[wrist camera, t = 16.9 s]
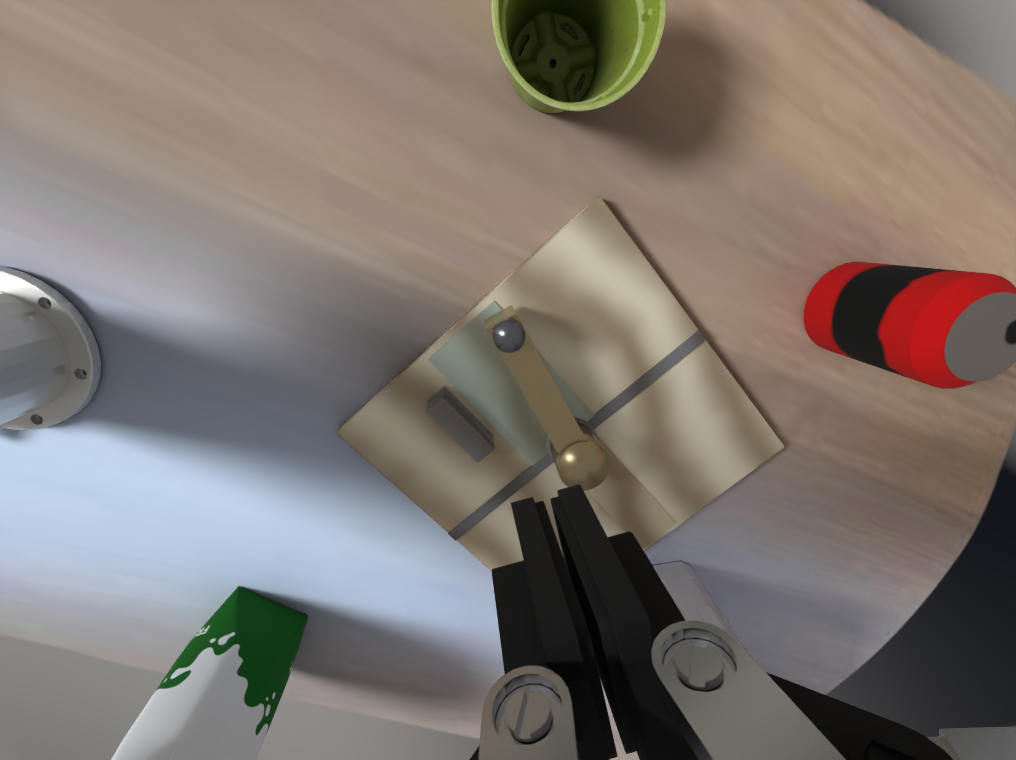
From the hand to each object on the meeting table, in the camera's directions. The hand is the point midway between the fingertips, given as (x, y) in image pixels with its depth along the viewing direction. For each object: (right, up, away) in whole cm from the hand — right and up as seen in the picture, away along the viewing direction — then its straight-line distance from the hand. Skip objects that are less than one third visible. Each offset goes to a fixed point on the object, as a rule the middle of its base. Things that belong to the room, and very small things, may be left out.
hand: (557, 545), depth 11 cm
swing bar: (+2, +3, +28) cm, 28 cm away
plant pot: (+2, +26, +23) cm, 35 cm away
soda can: (+28, +10, +30) cm, 42 cm away
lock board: (+4, -1, +31) cm, 32 cm away
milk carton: (-25, -20, +35) cm, 48 cm away
